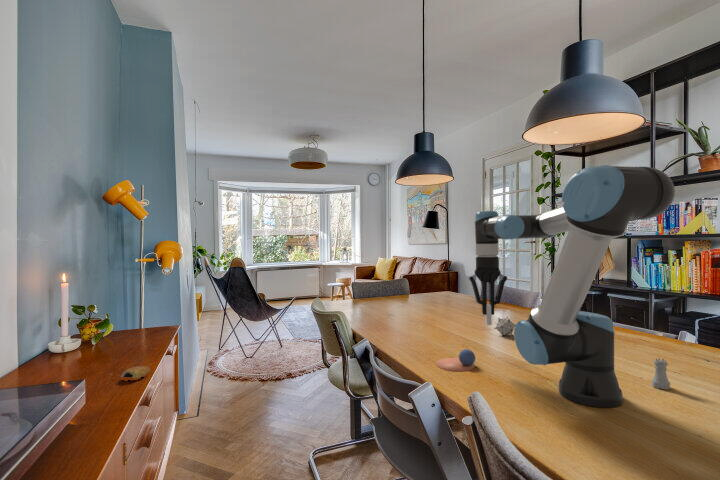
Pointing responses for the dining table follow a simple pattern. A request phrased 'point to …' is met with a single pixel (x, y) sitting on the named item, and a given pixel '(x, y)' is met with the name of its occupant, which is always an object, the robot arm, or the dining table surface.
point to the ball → (467, 357)
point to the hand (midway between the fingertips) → (488, 323)
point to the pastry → (136, 371)
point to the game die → (505, 326)
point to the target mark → (453, 364)
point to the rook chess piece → (660, 375)
